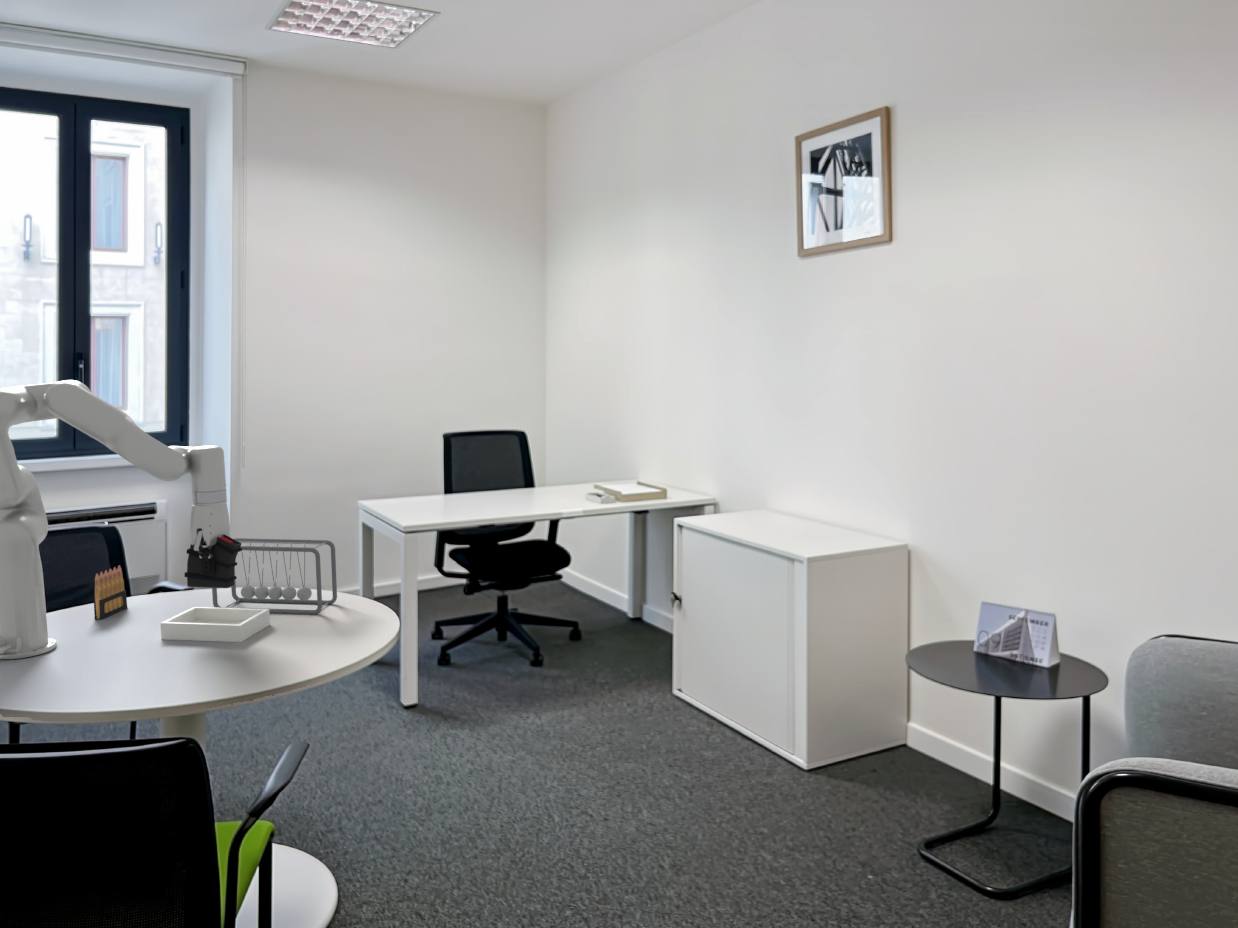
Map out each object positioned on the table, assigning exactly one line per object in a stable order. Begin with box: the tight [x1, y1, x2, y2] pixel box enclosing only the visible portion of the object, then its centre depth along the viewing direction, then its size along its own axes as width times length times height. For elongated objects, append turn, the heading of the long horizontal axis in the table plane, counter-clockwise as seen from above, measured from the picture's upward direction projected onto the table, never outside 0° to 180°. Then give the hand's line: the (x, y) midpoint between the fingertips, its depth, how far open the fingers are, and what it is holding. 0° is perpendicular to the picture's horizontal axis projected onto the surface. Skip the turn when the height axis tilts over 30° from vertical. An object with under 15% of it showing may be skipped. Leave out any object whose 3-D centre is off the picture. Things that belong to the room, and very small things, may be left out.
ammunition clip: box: [93, 564, 128, 621], centre depth 237 cm, size 11×2×12 cm, turn 174°
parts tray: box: [160, 606, 271, 643], centre depth 222 cm, size 14×20×4 cm
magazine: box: [184, 534, 243, 589], centre depth 220 cm, size 4×13×15 cm, turn 82°
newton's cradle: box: [211, 537, 338, 615], centre depth 242 cm, size 30×10×18 cm, turn 84°
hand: (214, 571), depth 221 cm, fingers closed on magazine, 3 cm apart
